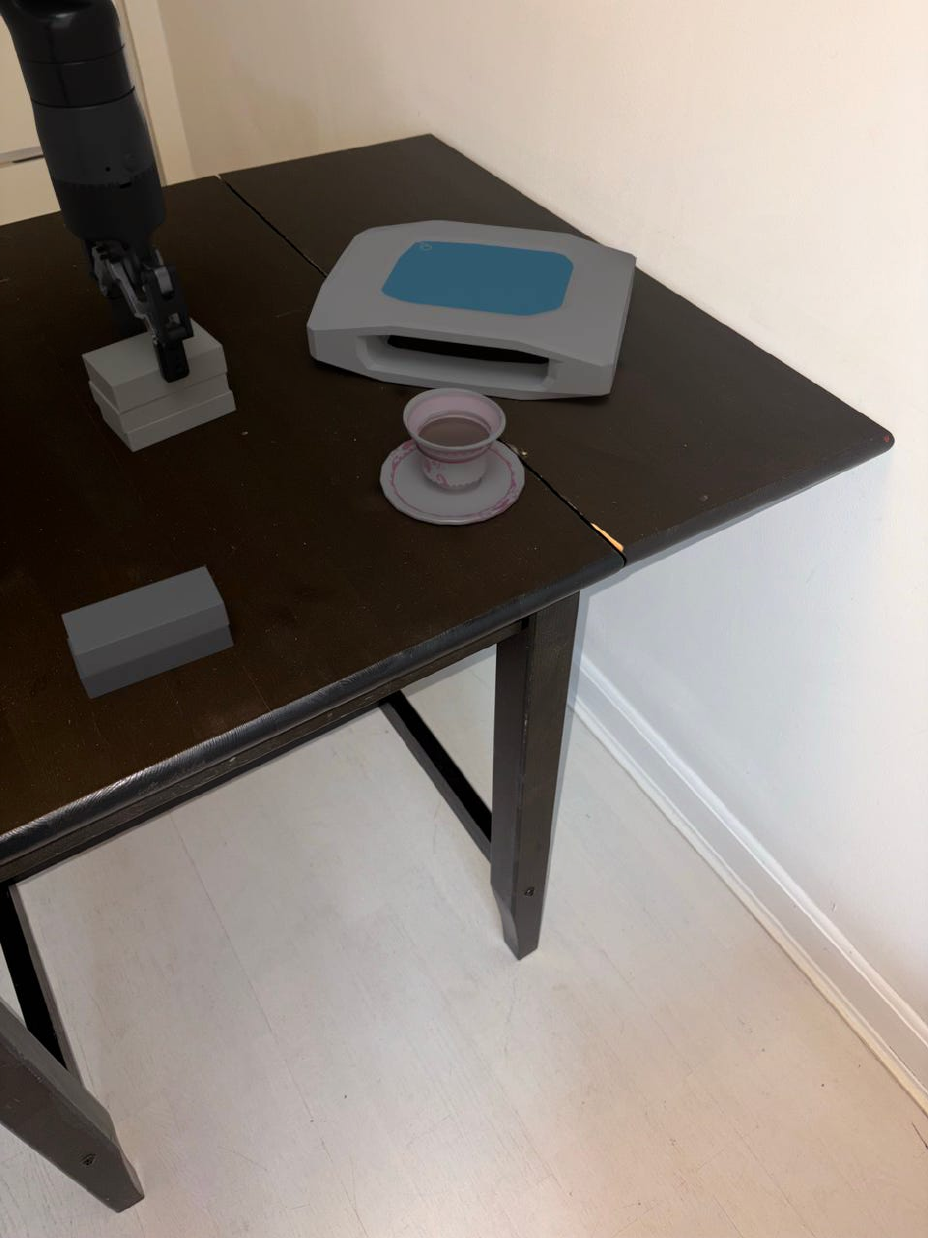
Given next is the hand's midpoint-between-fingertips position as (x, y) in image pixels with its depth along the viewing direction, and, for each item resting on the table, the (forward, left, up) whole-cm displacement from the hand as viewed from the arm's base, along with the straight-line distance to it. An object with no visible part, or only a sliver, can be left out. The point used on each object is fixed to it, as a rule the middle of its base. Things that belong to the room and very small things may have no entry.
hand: (153, 355), depth 81 cm
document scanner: (+31, -1, -6) cm, 32 cm away
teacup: (+18, -20, -6) cm, 28 cm away
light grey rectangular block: (0, 0, -2) cm, 2 cm away
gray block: (-9, -27, -6) cm, 29 cm away
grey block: (0, 0, -6) cm, 6 cm away
